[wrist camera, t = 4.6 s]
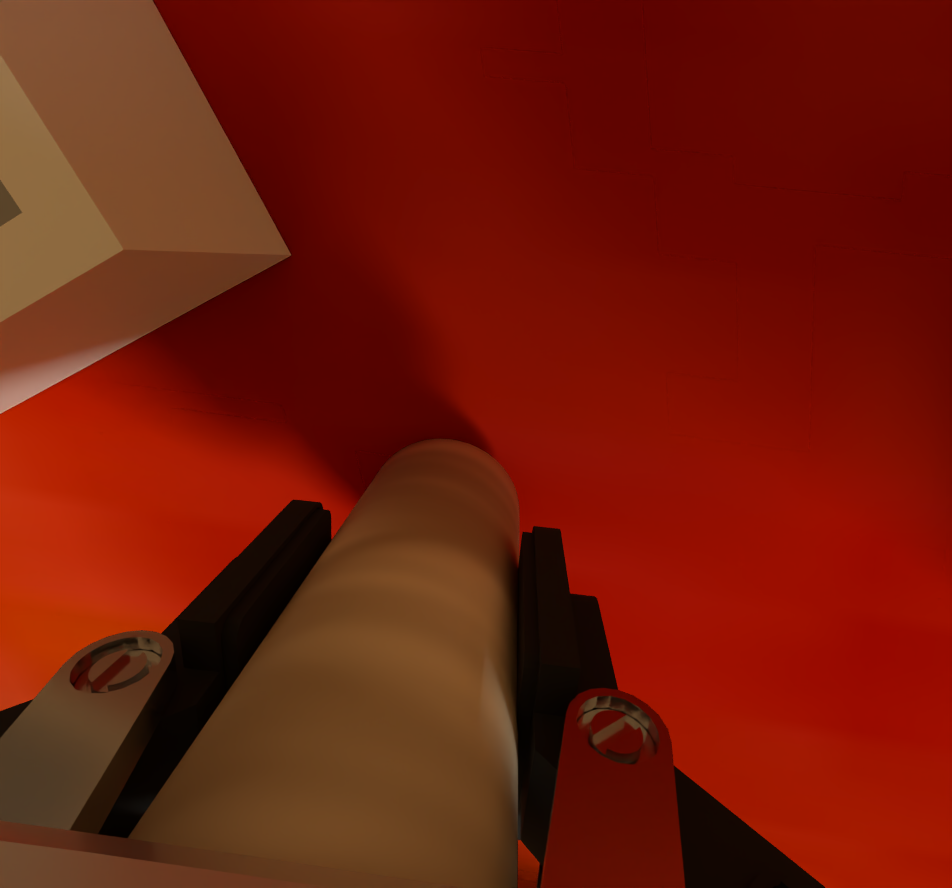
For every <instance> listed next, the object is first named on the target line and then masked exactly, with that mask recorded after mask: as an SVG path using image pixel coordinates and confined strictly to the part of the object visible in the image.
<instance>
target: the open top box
mask: <svg viewBox="0 0 952 888" xmlns="http://www.w3.org/2000/svg"><path fill="white" fill-rule="evenodd" d="M289 256H291V253H290V252H289V250H288V248H287V246H286V244H285V242H284V241H283V239H282V237H281V235H280V233H279V231H278V230H277V228H276V226H275V224H274V222H273V220H272V218H271V217H270V215H269V213H268V211H267V209H266V207H265V206H264V204H263V202H262V200H261V198H260V196H259V195H258V193H257V191H256V189H255V187H254V185H253V184H252V182H251V180H250V178H249V176H248V174H247V173H246V171H245V169H244V167H243V165H242V163H241V162H240V160H239V158H238V156H237V154H236V152H235V151H234V149H233V147H232V145H231V143H230V141H229V140H228V138H227V136H226V134H225V132H224V130H223V129H222V127H221V125H220V123H219V121H218V119H217V118H216V116H215V114H214V112H213V110H212V108H211V107H210V105H209V103H208V101H207V99H206V97H205V96H204V94H203V92H202V90H201V88H200V86H199V85H198V83H197V81H196V79H195V77H194V75H193V74H192V72H191V70H190V68H189V66H188V64H187V62H186V61H185V59H184V57H183V55H182V53H181V51H180V50H179V48H178V46H177V44H176V42H175V40H174V39H173V37H172V35H171V33H170V31H169V29H168V28H167V26H166V24H165V22H164V20H163V18H162V17H161V15H160V13H159V11H158V9H157V7H156V6H155V4H154V2H153V0H0V414H1V413H3V412H4V411H6V410H8V409H10V408H12V407H14V406H15V405H17V404H19V403H21V402H23V401H25V400H26V399H28V398H30V397H32V396H34V395H36V394H37V393H39V392H41V391H43V390H45V389H47V388H48V387H50V386H52V385H54V384H56V383H58V382H59V381H61V380H63V379H65V378H67V377H69V376H71V375H72V374H74V373H76V372H78V371H80V370H82V369H83V368H85V367H87V366H89V365H91V364H93V363H94V362H96V361H98V360H100V359H102V358H104V357H105V356H107V355H109V354H111V353H113V352H115V351H116V350H118V349H120V348H122V347H124V346H126V345H127V344H129V343H131V342H133V341H135V340H137V339H139V338H140V337H142V336H144V335H146V334H148V333H150V332H151V331H153V330H155V329H157V328H159V327H161V326H162V325H164V324H166V323H168V322H170V321H172V320H173V319H175V318H177V317H179V316H181V315H183V314H184V313H186V312H188V311H190V310H192V309H194V308H196V307H197V306H199V305H201V304H203V303H205V302H207V301H208V300H210V299H212V298H214V297H216V296H218V295H219V294H221V293H223V292H225V291H227V290H229V289H230V288H232V287H234V286H236V285H238V284H240V283H241V282H243V281H245V280H247V279H249V278H251V277H252V276H254V275H256V274H258V273H260V272H262V271H264V270H265V269H267V268H269V267H271V266H273V265H275V264H276V263H278V262H280V261H282V260H284V259H286V258H287V257H289Z"/></svg>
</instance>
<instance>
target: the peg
mask: <svg viewBox="0 0 952 888" xmlns="http://www.w3.org/2000/svg"><path fill="white" fill-rule="evenodd" d="M518 564H519V500H518V496H517V492H516V489H515V487H514V484H513V482H512V480H511V478H510V477H509V475H508V473H507V472H506V471H505V469H504V468H503V467H502V466H501V465H500V464H499V463H498V462H497V461H496V460H495V459H494V458H493V457H492V456H490V455H489V454H488V453H486V452H485V451H483V450H481V449H480V448H478V447H476V446H473V445H471V444H469V443H465V442H462V441H458V440H452V439H428V440H424V441H419V442H416V443H413V444H411V445H408V446H406V447H405V448H403V449H401V450H399V451H398V452H397V453H395V454H394V455H393V456H392V457H390V458H389V459H388V460H387V461H386V463H385V464H384V465H383V466H382V468H381V469H380V470H379V472H378V473H377V475H376V476H375V478H374V479H373V481H372V482H371V484H370V485H369V486H368V488H367V489H366V491H365V492H364V494H363V495H362V497H361V498H360V500H359V501H358V502H357V504H356V505H355V507H354V508H353V510H352V511H351V513H350V514H349V516H348V517H347V519H346V520H345V521H344V523H343V524H342V526H341V527H340V529H339V530H338V532H337V533H336V535H335V536H334V537H333V539H332V540H331V542H330V543H329V545H328V546H327V548H326V549H325V551H324V552H323V554H322V555H321V556H320V558H319V559H318V561H317V562H316V564H315V565H314V567H313V568H312V570H311V571H310V573H309V574H308V575H307V577H306V578H305V580H304V581H303V583H302V584H301V586H300V587H299V589H298V590H297V591H296V593H295V594H294V596H293V597H292V599H291V600H290V602H289V603H288V605H287V606H286V608H285V609H284V610H283V612H282V613H281V615H280V616H279V618H278V619H277V621H276V622H275V624H274V625H273V627H272V628H271V629H270V631H269V632H268V634H267V635H266V637H265V638H264V640H263V641H262V643H261V644H260V645H259V647H258V648H257V650H256V651H255V653H254V654H253V656H252V657H251V659H250V660H249V662H248V663H247V664H246V666H245V667H244V669H243V670H242V672H241V673H240V675H239V676H238V678H237V679H236V680H235V682H234V683H233V685H232V686H231V688H230V689H229V691H228V692H227V694H226V695H225V697H224V698H223V699H222V701H221V702H220V704H219V705H218V707H217V708H216V710H215V711H214V713H213V714H212V716H211V717H210V718H209V720H208V721H207V723H206V724H205V726H204V727H203V729H202V730H201V732H200V733H199V734H198V736H197V737H196V739H195V740H194V742H193V743H192V745H191V746H190V748H189V749H188V751H187V752H186V753H185V755H184V756H183V758H182V759H181V761H180V762H179V764H178V765H177V767H176V768H175V769H174V771H173V772H172V774H171V775H170V777H169V778H168V780H167V781H166V783H165V784H164V786H163V787H162V788H161V790H160V791H159V793H158V794H157V796H156V797H155V799H154V800H153V802H152V803H151V805H150V806H149V807H148V809H147V810H146V812H145V813H144V815H143V816H142V818H141V819H140V821H139V822H138V823H137V825H136V826H135V828H134V829H133V831H132V832H131V834H130V835H129V837H128V838H129V839H136V840H143V841H150V842H157V843H164V844H171V845H178V846H185V847H192V848H199V849H206V850H212V851H219V852H226V853H233V854H240V855H247V856H254V857H261V858H268V859H275V860H281V861H288V862H295V863H302V864H309V865H316V866H322V867H329V868H336V869H343V870H350V871H356V872H363V873H370V874H377V875H383V876H390V877H397V878H403V879H410V880H416V881H423V882H430V883H436V884H443V885H449V886H456V887H462V888H517V869H518V728H517V614H518Z"/></svg>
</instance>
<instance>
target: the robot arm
mask: <svg viewBox="0 0 952 888" xmlns="http://www.w3.org/2000/svg"><path fill="white" fill-rule="evenodd" d="M330 542H331V514H330V511H329V510H323V506H322V504H321V503H320V502H311V501H302V500H292V501H291V502H290V503H289V504H288V505H287V506H286V507H285V508H284V509H283V510H282V511H281V512H280V513H279V514H278V515H277V516H276V517H275V518H274V520H273V521H272V522H271V523H270V524H269V525H268V526H267V527H266V528H265V529H264V530H263V531H262V532H261V533H260V534H259V535H258V536H257V537H256V538H255V539H254V540H253V541H252V542H251V543H250V544H249V545H248V546H247V547H246V549H245V550H244V551H243V552H242V553H241V554H240V555H239V556H238V557H236V558H235V559H233V560H232V561H231V562H230V563H229V564H228V565H227V566H226V568H225V569H224V570H223V571H222V572H221V573H220V574H219V575H218V576H217V577H216V578H215V579H214V580H213V581H212V582H211V583H210V584H209V585H208V586H207V587H206V588H205V589H204V590H203V591H202V592H201V593H200V594H199V595H198V596H197V597H196V598H195V599H194V600H193V601H192V602H191V604H190V605H189V606H188V607H187V608H186V609H185V610H184V611H183V612H182V613H181V614H180V615H179V616H178V617H177V618H176V619H175V620H174V621H173V622H172V623H171V624H170V625H169V626H168V627H167V628H166V629H165V630H164V631H163V632H162V633H161V634H160V633H157V632H153V631H143V630H141V631H130V632H123V633H120V634H116V635H112V636H108V637H106V638H103V639H101V640H99V641H96V642H94V643H92V644H90V645H88V646H87V647H85V648H83V649H82V650H80V651H78V652H77V653H75V654H74V655H73V656H72V657H71V658H70V659H69V660H68V661H67V662H66V663H65V664H64V665H63V666H62V667H61V668H60V669H59V670H58V672H57V673H56V674H55V675H54V676H53V677H52V679H51V680H50V681H49V682H48V683H47V684H46V686H45V687H44V688H43V689H42V690H41V691H40V693H39V694H38V695H37V696H36V697H35V698H34V699H33V700H30V701H27V702H25V703H22V704H19V705H16V706H13V707H11V708H8V709H5V710H2V711H0V888H462V887H456V886H449V885H443V884H436V883H430V882H423V881H416V880H410V879H403V878H397V877H390V876H383V875H377V874H370V873H363V872H356V871H350V870H343V869H336V868H329V867H322V866H316V865H309V864H302V863H295V862H288V861H281V860H275V859H268V858H261V857H254V856H247V855H240V854H233V853H226V852H219V851H212V850H206V849H199V848H192V847H185V846H178V845H171V844H164V843H157V842H150V841H143V840H136V839H129V838H128V837H129V835H130V834H131V832H132V831H133V829H134V828H135V826H136V825H137V823H138V822H139V821H140V819H141V818H142V816H143V815H144V813H145V812H146V810H147V809H148V807H149V806H150V805H151V803H152V802H153V800H154V799H155V797H156V796H157V794H158V793H159V791H160V790H161V788H162V787H163V786H164V784H165V783H166V781H167V780H168V778H169V777H170V775H171V774H172V772H173V771H174V769H175V768H176V767H177V765H178V764H179V762H180V761H181V759H182V758H183V756H184V755H185V753H186V752H187V751H188V749H189V748H190V746H191V745H192V743H193V742H194V740H195V739H196V737H197V736H198V734H199V733H200V732H201V730H202V729H203V727H204V726H205V724H206V723H207V721H208V720H209V718H210V717H211V716H212V714H213V713H214V711H215V710H216V708H217V707H218V705H219V704H220V702H221V701H222V699H223V698H224V697H225V695H226V694H227V692H228V691H229V689H230V688H231V686H232V685H233V683H234V682H235V680H236V679H237V678H238V676H239V675H240V673H241V672H242V670H243V669H244V667H245V666H246V664H247V663H248V662H249V660H250V659H251V657H252V656H253V654H254V653H255V651H256V650H257V648H258V647H259V645H260V644H261V643H262V641H263V640H264V638H265V637H266V635H267V634H268V632H269V631H270V629H271V628H272V627H273V625H274V624H275V622H276V621H277V619H278V618H279V616H280V615H281V613H282V612H283V610H284V609H285V608H286V606H287V605H288V603H289V602H290V600H291V599H292V597H293V596H294V594H295V593H296V591H297V590H298V589H299V587H300V586H301V584H302V583H303V581H304V580H305V578H306V577H307V575H308V574H309V573H310V571H311V570H312V568H313V567H314V565H315V564H316V562H317V561H318V559H319V558H320V556H321V555H322V554H323V552H324V551H325V549H326V548H327V546H328V545H329V543H330ZM517 728H518V840H521V841H522V842H523V843H524V845H525V846H526V847H527V848H528V849H529V851H530V852H531V853H532V854H533V855H534V856H535V858H536V859H537V860H538V861H539V868H538V875H537V881H536V888H825V887H824V886H823V885H822V884H820V883H819V882H818V881H817V880H816V879H814V878H813V877H812V876H811V875H809V874H808V873H807V872H806V871H804V870H803V869H802V868H801V867H799V866H798V865H797V864H796V863H794V862H793V861H792V860H791V859H789V858H788V857H787V856H786V855H784V854H783V853H782V852H781V851H779V850H778V849H777V848H776V847H774V846H773V845H772V844H771V843H769V842H768V841H767V840H766V839H765V838H763V837H762V836H761V835H760V834H758V833H757V832H756V831H755V830H753V829H752V828H751V827H750V826H748V825H747V824H746V823H745V822H743V821H742V820H741V819H740V818H738V817H737V816H736V815H735V814H733V813H732V812H731V811H730V810H728V809H727V808H726V807H725V806H723V805H722V804H721V803H720V802H718V801H717V800H716V799H715V798H714V797H712V796H711V795H710V794H709V793H707V792H706V791H705V790H704V789H702V788H701V787H700V786H699V785H697V784H696V783H695V782H694V781H692V780H691V779H690V778H689V777H687V776H686V775H685V774H684V773H682V772H681V771H680V770H679V769H677V768H676V767H675V766H674V763H673V753H672V742H671V739H670V735H669V732H668V728H667V727H666V725H665V724H664V722H663V721H662V719H661V718H660V716H659V715H658V714H657V713H656V712H655V711H654V710H653V709H652V708H651V707H650V706H649V705H648V704H646V703H644V702H643V701H641V700H640V699H638V698H636V697H635V696H633V695H630V694H628V693H625V692H622V691H620V690H618V687H617V683H616V679H615V674H614V670H613V666H612V661H611V657H610V652H609V648H608V644H607V639H606V635H605V630H604V626H603V622H602V617H601V613H600V609H599V604H598V601H597V598H596V597H595V596H586V595H578V594H570V591H569V584H568V577H567V571H566V564H565V557H564V550H563V544H562V537H561V531H560V529H555V528H546V527H537V526H534V527H533V531H532V533H528V532H523V533H522V540H521V548H520V556H519V564H518V614H517Z"/></svg>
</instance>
